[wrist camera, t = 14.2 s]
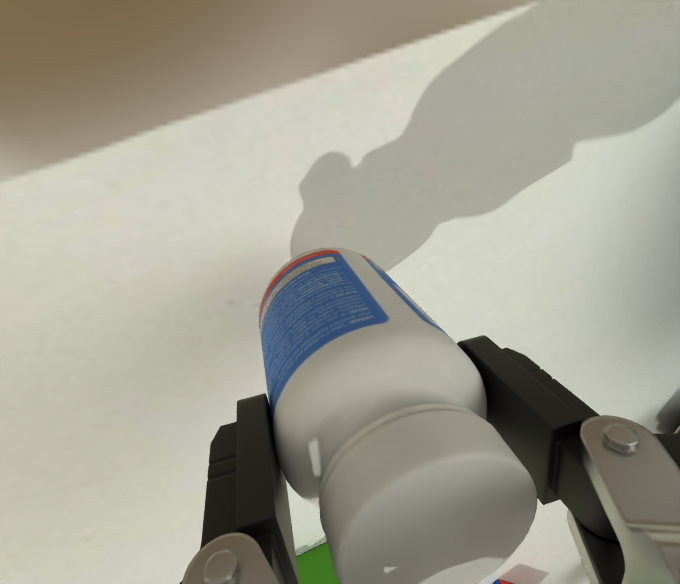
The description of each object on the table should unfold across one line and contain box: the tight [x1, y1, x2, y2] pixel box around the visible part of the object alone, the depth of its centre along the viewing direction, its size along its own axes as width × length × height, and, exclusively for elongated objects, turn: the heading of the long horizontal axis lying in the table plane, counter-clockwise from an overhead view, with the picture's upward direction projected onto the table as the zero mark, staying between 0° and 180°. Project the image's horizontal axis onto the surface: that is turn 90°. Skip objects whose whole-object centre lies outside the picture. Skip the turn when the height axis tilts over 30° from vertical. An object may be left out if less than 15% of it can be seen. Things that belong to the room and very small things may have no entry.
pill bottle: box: [259, 248, 537, 584], centre depth 11 cm, size 6×5×10 cm
